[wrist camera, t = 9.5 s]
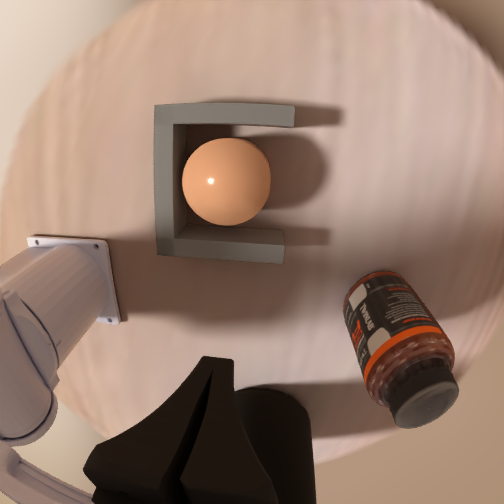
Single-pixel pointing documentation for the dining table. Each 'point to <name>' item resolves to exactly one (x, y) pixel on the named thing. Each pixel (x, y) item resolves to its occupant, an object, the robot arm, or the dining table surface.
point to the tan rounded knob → (227, 181)
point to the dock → (171, 190)
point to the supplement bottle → (400, 349)
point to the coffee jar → (280, 442)
